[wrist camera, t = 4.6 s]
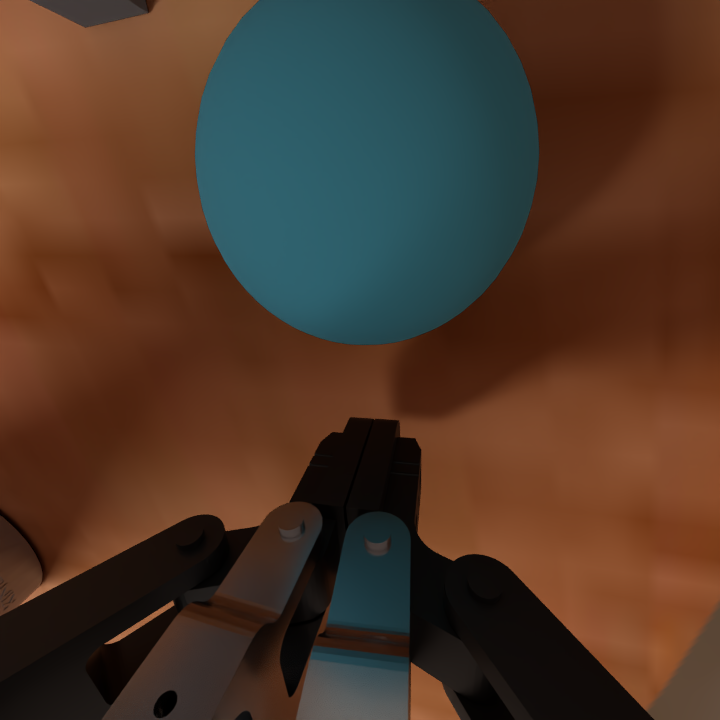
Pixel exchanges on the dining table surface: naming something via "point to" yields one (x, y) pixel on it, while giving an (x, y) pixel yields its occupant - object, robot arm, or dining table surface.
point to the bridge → (94, 10)
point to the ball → (367, 161)
